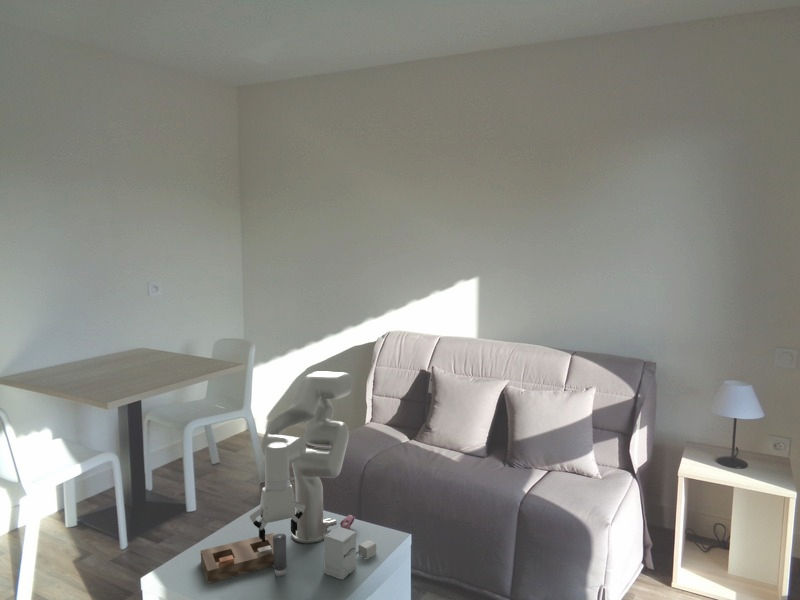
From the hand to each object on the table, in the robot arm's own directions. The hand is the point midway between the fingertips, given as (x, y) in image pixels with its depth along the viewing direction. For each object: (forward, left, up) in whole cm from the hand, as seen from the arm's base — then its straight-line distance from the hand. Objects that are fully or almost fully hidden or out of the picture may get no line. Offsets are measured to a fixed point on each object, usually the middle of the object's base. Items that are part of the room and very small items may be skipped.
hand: (278, 536), depth 181 cm
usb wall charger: (-28, +3, -13) cm, 31 cm away
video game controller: (-28, -14, -13) cm, 34 cm away
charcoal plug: (-1, -1, -12) cm, 12 cm away
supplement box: (-18, +7, -13) cm, 23 cm away
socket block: (+8, -12, -12) cm, 19 cm away
